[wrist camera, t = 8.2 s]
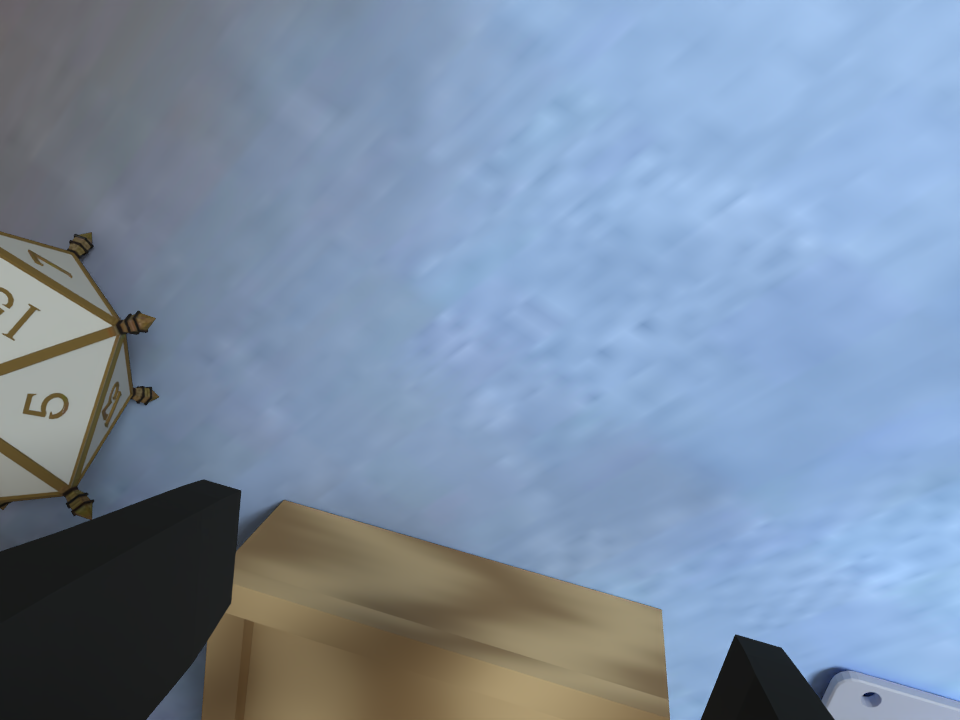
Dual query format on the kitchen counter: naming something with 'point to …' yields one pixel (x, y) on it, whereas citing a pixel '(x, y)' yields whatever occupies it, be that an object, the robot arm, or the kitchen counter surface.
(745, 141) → the kitchen counter surface
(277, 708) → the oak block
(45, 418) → the game die
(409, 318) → the kitchen counter surface
